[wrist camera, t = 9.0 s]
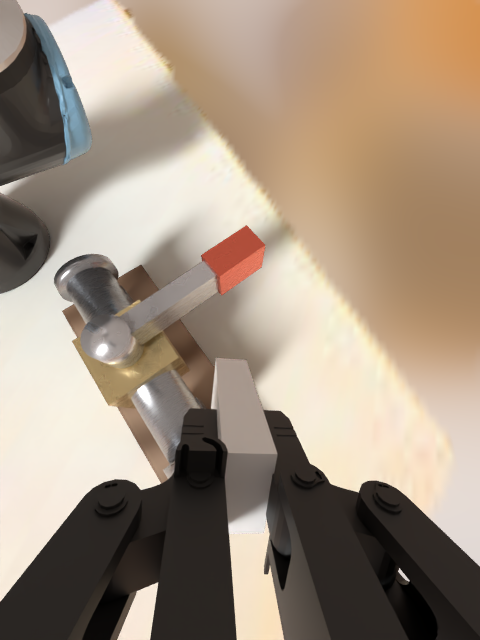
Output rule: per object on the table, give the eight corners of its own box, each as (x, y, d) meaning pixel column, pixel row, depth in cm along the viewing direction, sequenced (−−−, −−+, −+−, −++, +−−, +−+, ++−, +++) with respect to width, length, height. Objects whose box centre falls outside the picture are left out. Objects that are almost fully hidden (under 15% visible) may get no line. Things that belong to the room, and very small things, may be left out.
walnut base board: (70, 316, 40) (62, 311, 38) (145, 271, 43) (140, 264, 41) (177, 501, 33) (174, 506, 31) (260, 434, 35) (261, 435, 34)
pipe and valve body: (87, 314, 38) (35, 276, 28) (133, 286, 40) (99, 241, 30) (182, 470, 32) (158, 493, 22) (232, 431, 34) (231, 435, 24)
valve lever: (116, 376, 25) (95, 368, 21) (95, 345, 26) (71, 332, 22) (264, 271, 29) (269, 248, 25) (242, 246, 29) (243, 220, 26)
